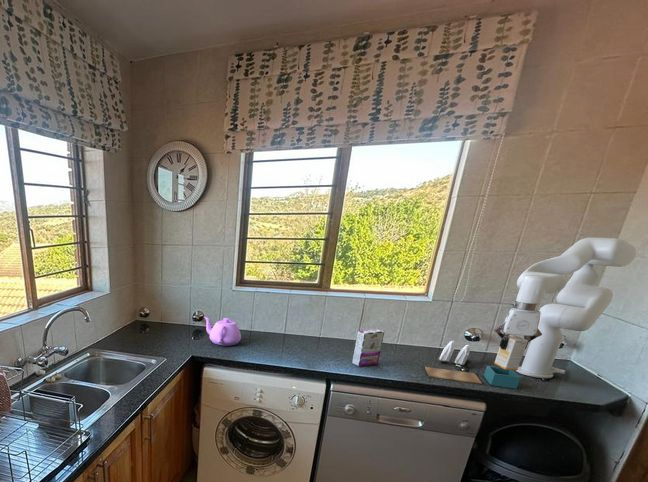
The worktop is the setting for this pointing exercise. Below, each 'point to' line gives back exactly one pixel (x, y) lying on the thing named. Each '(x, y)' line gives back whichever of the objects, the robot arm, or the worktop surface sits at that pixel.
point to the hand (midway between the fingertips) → (511, 349)
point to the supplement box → (511, 353)
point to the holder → (502, 377)
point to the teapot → (224, 332)
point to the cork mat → (453, 375)
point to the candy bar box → (368, 347)
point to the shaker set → (448, 353)
